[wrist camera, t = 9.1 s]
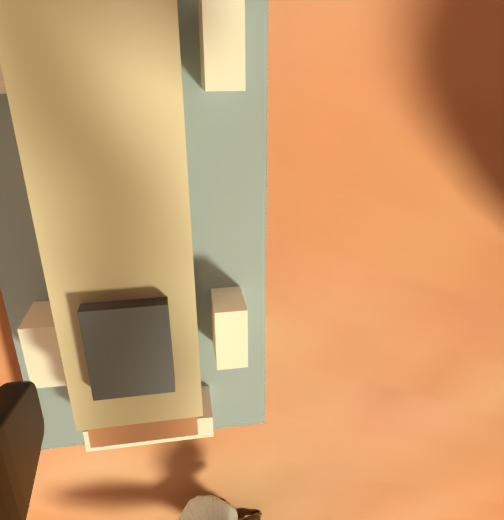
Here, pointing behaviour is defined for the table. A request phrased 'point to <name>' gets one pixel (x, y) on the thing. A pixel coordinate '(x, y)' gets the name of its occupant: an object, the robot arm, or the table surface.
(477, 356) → the table surface
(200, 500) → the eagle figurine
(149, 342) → the beam with grey square
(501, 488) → the table surface
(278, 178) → the table surface
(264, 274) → the jig
